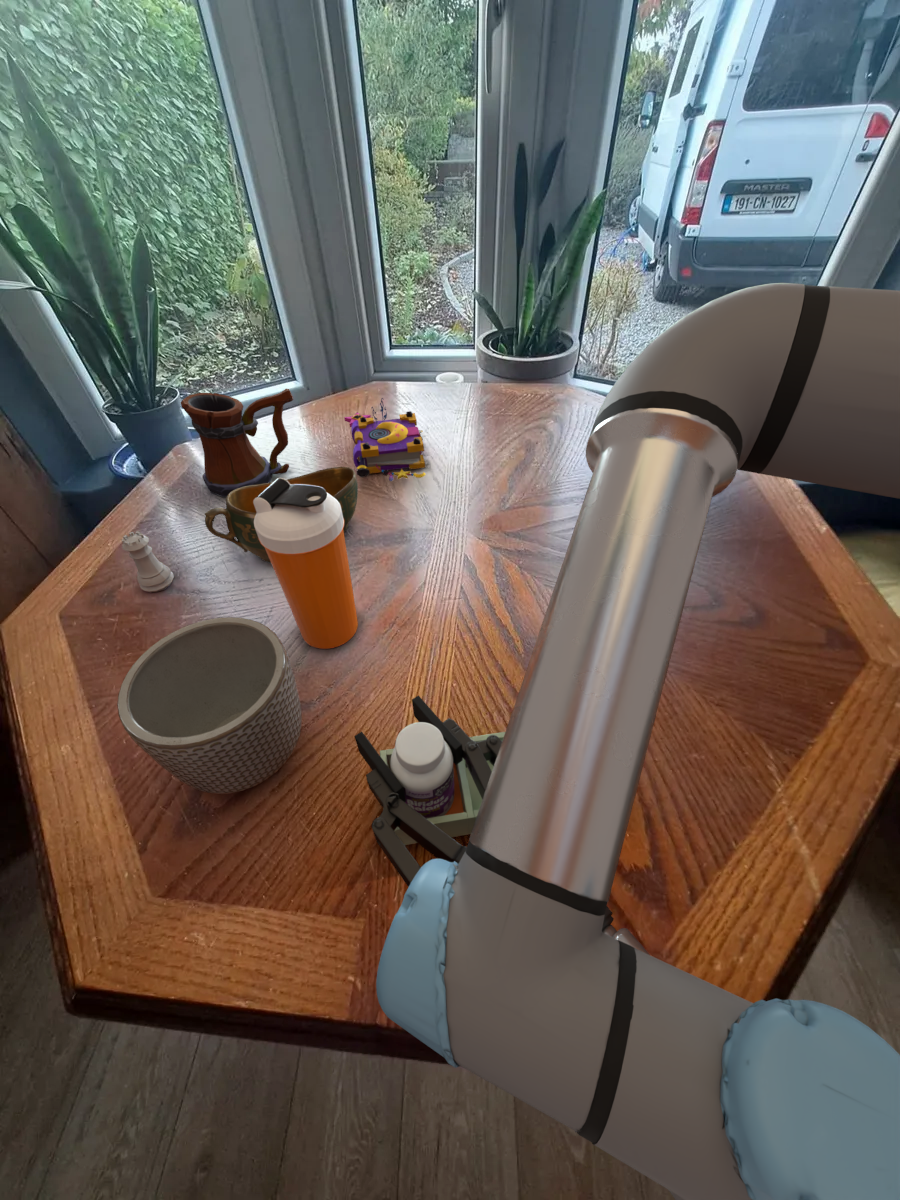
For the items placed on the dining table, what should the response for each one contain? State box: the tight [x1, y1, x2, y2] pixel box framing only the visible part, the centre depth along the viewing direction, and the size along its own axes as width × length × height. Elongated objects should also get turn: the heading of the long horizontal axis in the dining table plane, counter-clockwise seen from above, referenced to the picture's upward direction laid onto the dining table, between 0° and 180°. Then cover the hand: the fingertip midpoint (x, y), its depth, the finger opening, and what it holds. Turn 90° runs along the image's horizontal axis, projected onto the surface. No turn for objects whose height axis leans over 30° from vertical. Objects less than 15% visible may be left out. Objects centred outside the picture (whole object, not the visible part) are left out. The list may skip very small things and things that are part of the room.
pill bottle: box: [390, 721, 454, 818], centre depth 45 cm, size 5×5×10 cm
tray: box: [379, 731, 506, 846], centre depth 48 cm, size 15×8×4 cm, turn 99°
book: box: [343, 397, 427, 482], centre depth 92 cm, size 14×25×12 cm, turn 10°
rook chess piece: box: [121, 531, 175, 593], centre depth 70 cm, size 4×4×8 cm
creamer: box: [204, 466, 359, 564], centre depth 75 cm, size 13×20×10 cm, turn 99°
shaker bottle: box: [253, 477, 359, 650], centre depth 58 cm, size 9×9×20 cm
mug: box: [179, 388, 294, 498], centre depth 87 cm, size 18×12×15 cm, turn 107°
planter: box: [116, 616, 303, 795], centre depth 49 cm, size 14×14×13 cm
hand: (389, 723), depth 48 cm, fingers closed on pill bottle, 5 cm apart
